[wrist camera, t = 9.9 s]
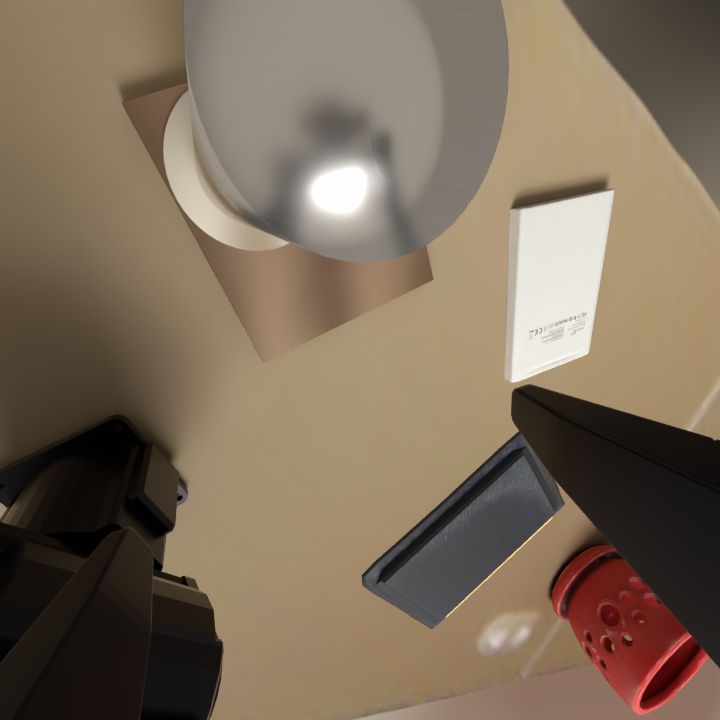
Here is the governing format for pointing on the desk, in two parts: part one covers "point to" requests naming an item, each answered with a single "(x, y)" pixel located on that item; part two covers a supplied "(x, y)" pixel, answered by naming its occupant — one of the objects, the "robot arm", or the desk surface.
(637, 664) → the plant pot
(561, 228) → the external hard drive
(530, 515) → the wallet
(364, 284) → the board
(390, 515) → the desk surface
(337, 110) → the steel pin
